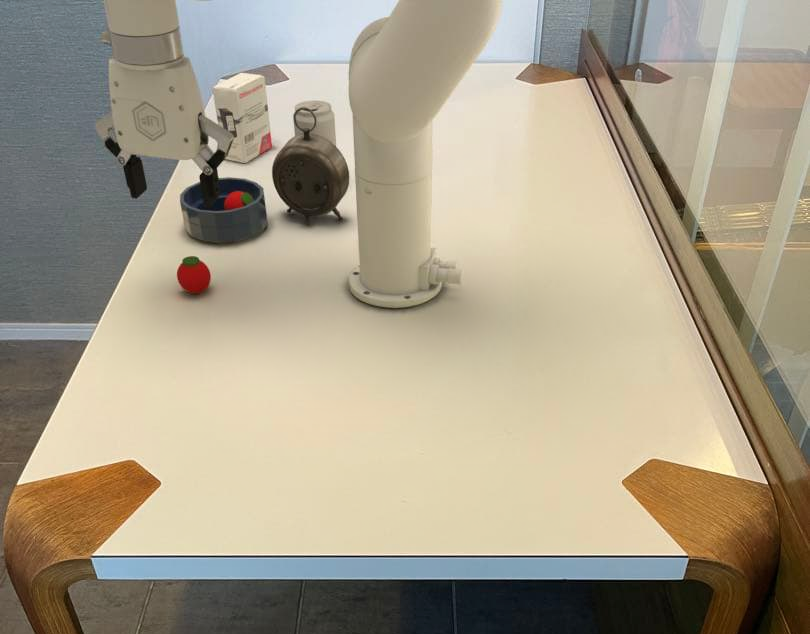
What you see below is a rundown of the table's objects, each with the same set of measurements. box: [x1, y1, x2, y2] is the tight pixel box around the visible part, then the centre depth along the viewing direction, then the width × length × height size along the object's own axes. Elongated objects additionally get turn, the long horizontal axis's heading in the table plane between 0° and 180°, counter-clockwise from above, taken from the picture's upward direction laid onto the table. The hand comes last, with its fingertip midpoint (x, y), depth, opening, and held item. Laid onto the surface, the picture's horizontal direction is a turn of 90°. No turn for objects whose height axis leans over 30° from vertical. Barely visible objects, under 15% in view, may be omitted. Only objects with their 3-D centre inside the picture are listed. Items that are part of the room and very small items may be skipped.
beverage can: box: [292, 100, 337, 147], centre depth 136 cm, size 6×6×12 cm
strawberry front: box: [224, 191, 254, 210], centre depth 128 cm, size 4×4×4 cm
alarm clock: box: [271, 107, 350, 227], centre depth 125 cm, size 11×5×16 cm, turn 73°
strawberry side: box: [176, 255, 212, 294], centre depth 114 cm, size 4×4×4 cm
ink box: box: [212, 72, 273, 164], centre depth 146 cm, size 8×5×12 cm, turn 152°
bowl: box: [179, 176, 269, 243], centre depth 128 cm, size 12×12×5 cm
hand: (175, 198), depth 107 cm, fingers open, 9 cm apart
